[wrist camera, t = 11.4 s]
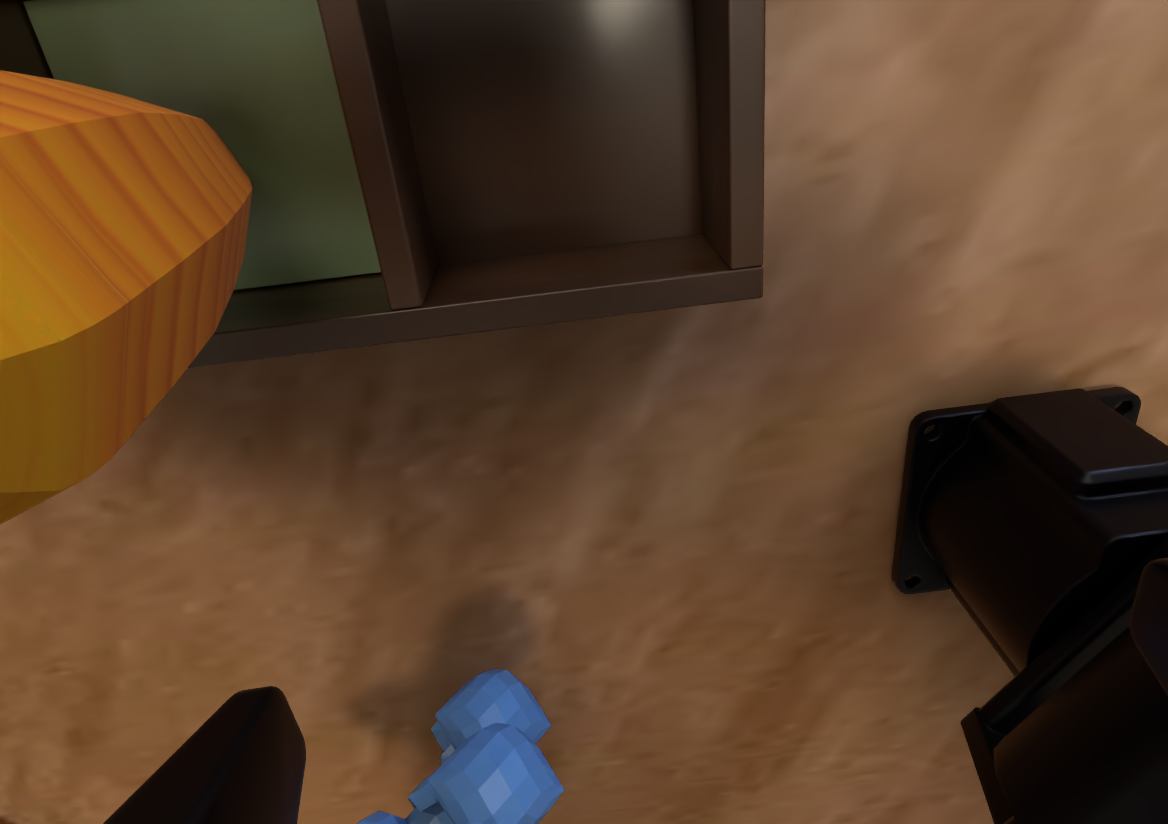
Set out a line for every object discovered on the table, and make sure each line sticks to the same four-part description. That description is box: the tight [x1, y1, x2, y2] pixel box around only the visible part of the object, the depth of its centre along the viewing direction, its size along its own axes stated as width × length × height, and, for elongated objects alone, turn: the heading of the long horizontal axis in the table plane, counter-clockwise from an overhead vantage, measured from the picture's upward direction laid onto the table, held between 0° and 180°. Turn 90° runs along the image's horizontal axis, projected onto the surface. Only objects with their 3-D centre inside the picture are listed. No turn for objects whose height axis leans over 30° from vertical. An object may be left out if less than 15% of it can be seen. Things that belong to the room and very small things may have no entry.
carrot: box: [0, 70, 253, 524], centre depth 10 cm, size 5×5×15 cm
